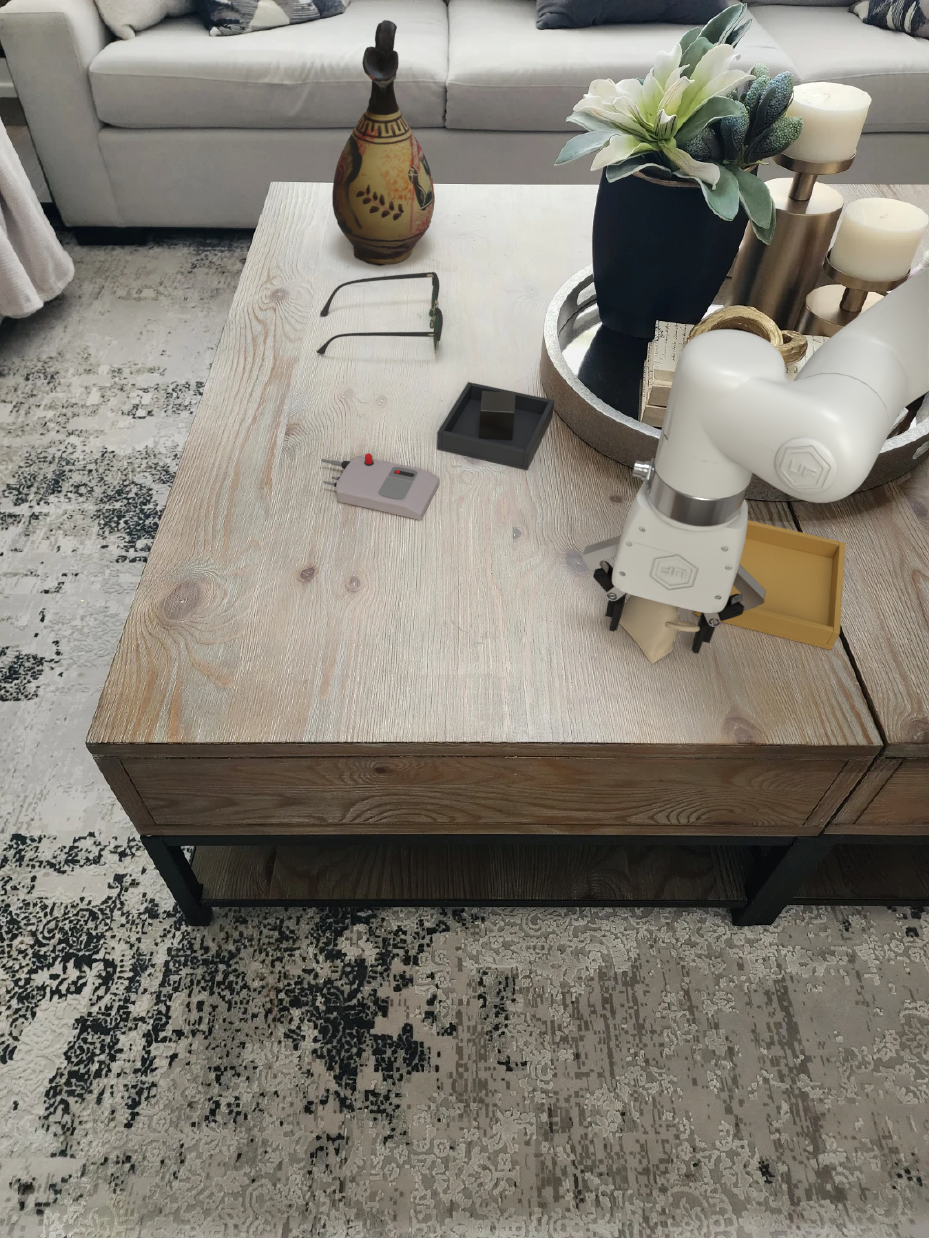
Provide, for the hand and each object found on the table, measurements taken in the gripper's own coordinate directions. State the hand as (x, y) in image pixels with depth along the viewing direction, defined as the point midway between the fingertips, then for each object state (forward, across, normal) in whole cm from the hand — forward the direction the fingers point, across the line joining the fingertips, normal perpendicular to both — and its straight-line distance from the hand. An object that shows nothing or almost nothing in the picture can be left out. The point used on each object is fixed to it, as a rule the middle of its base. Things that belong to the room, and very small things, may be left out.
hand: (656, 630), depth 81 cm
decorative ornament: (+1, 0, 0) cm, 1 cm away
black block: (+1, -24, +26) cm, 36 cm away
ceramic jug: (+1, -55, +66) cm, 86 cm away
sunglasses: (+1, -46, +42) cm, 63 cm away
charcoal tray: (+1, -24, +26) cm, 36 cm away
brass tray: (+1, +10, +11) cm, 15 cm away
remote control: (+1, -33, +11) cm, 35 cm away
